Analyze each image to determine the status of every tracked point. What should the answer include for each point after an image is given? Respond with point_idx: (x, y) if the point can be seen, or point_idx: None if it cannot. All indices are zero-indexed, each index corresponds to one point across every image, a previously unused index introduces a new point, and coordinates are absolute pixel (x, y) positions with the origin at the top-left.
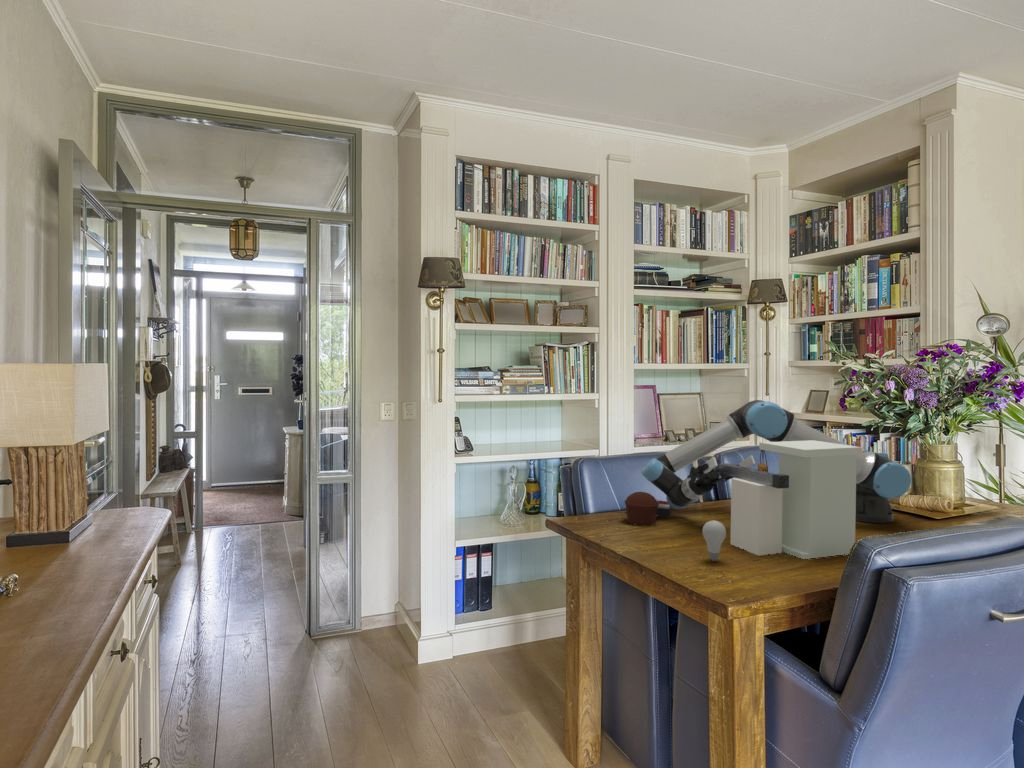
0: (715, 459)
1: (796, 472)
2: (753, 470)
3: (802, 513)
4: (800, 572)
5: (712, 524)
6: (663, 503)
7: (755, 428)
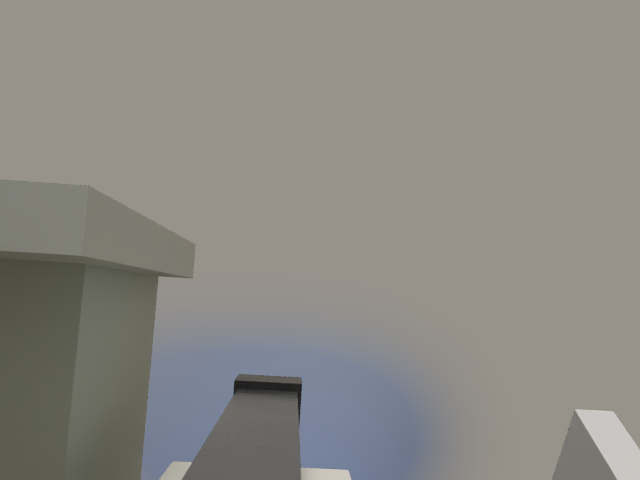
0: (570, 441)
1: (124, 374)
2: (263, 433)
3: None
4: None
5: None
6: None
7: None
